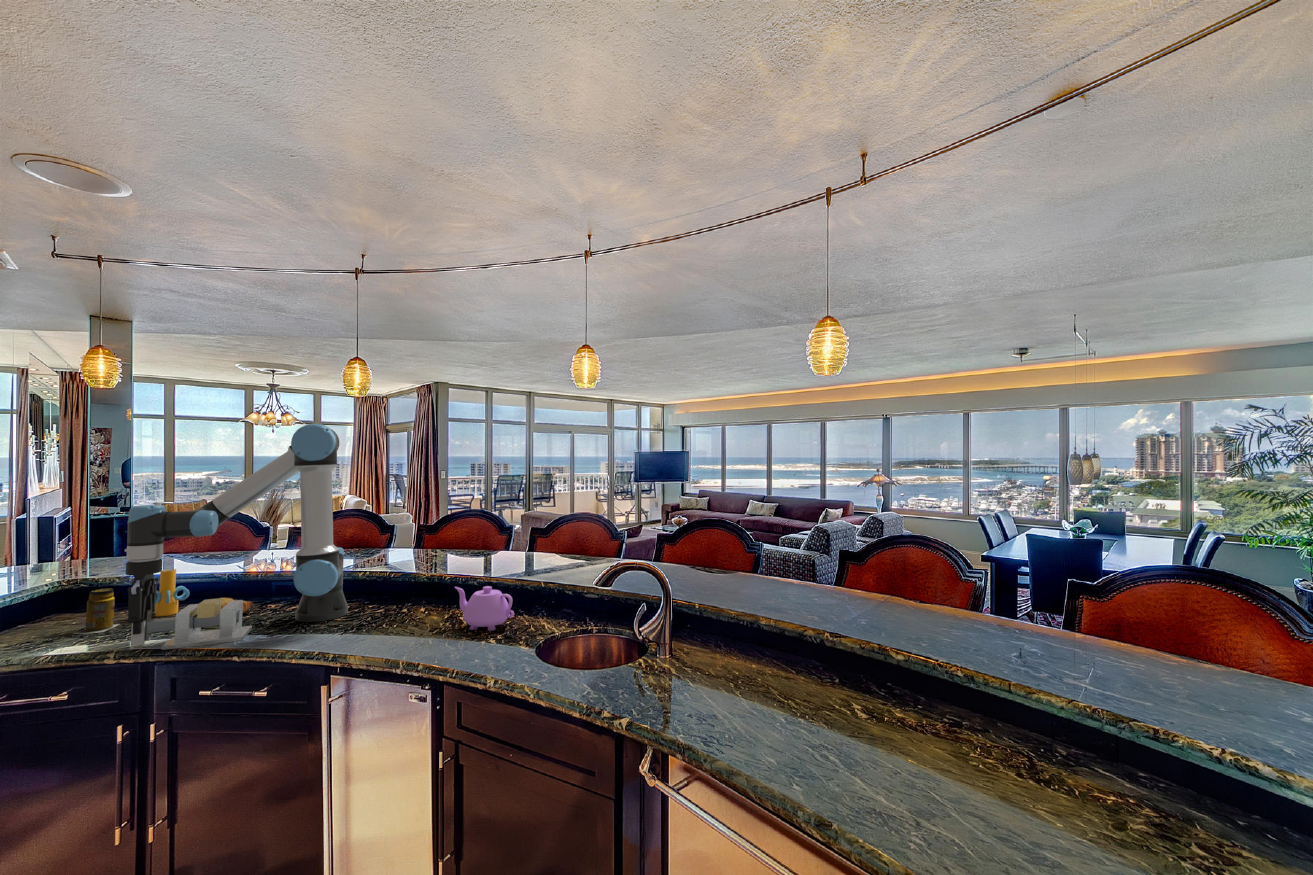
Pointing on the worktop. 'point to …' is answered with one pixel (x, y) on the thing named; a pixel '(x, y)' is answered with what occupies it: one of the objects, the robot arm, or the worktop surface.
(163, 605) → the cylinder
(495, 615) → the teapot
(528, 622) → the worktop surface
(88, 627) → the condiment
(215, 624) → the bar
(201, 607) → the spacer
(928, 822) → the worktop surface
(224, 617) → the frame
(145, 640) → the robot arm
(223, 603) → the croissant
